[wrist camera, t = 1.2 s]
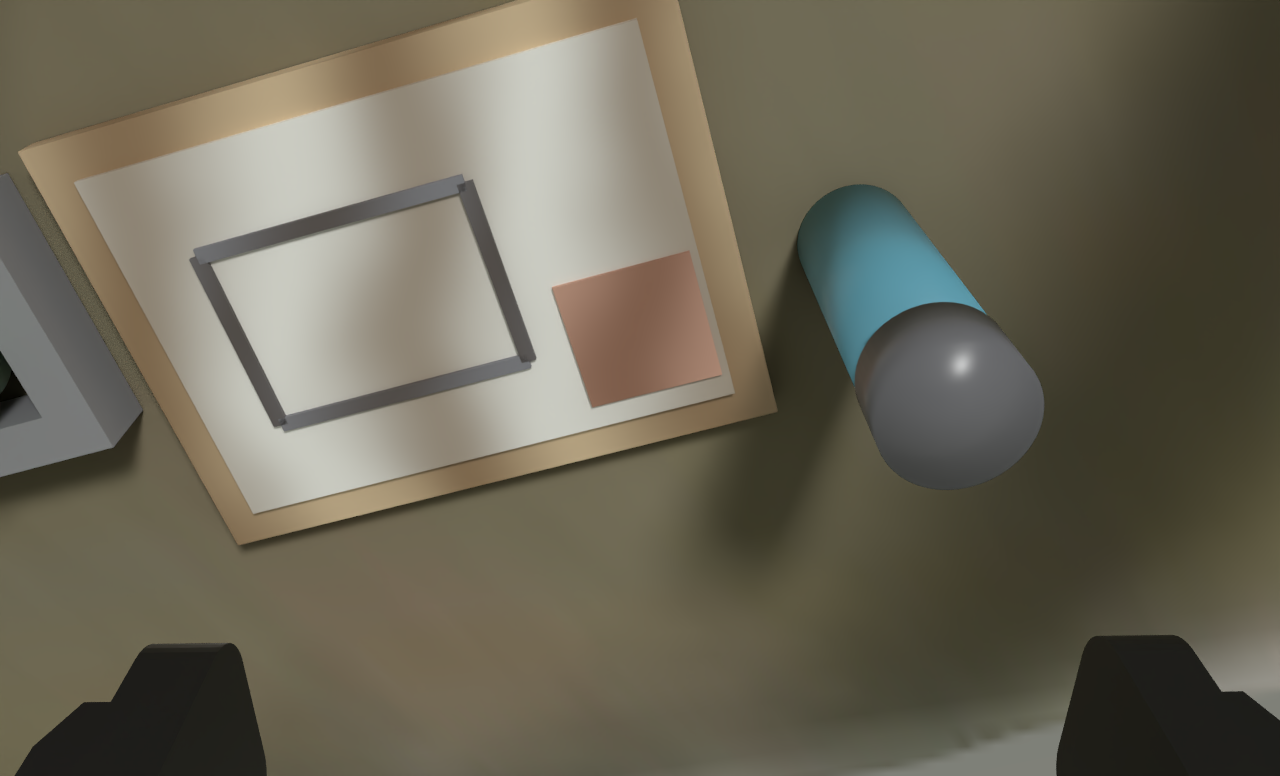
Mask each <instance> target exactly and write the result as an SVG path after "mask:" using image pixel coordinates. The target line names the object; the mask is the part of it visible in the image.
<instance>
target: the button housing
mask: <svg viewBox="0 0 1280 776" xmlns="http://www.w3.org/2000/svg"><path fill="white" fill-rule="evenodd" d="M0 351H1V353H2V354H3V356H4V357H5V359H6V361H7V362H8V364H9V365H10V367H11V369H12V370H13V372H14V373H15V375H16V377H17V378H18V380H19V381H20V383H21V385H22V386H23V388H24V389H25V391H26V393H27V394H28V395H25V396H22V397H18V398H14V399H10V400H7V401H3V402H0V477H2V476H6V475H10V474H13V473H17V472H21V471H25V470H29V469H33V468H36V467H40V466H44V465H48V464H52V463H56V462H59V461H63V460H67V459H71V458H75V457H79V456H82V455H86V454H90V453H94V452H98V451H102V450H105V449H109V448H113V447H114V446H115V445H116V444H117V442H118V441H119V440H120V438H121V437H122V436H123V435H124V433H125V432H126V431H127V430H128V428H129V427H130V426H131V425H132V423H133V422H134V421H135V419H136V418H137V417H138V416H139V414H140V413H141V412H142V411H143V409H142V407H141V406H140V404H139V402H138V400H137V399H136V397H135V395H134V393H133V392H132V390H131V388H130V386H129V385H128V383H127V381H126V379H125V378H124V376H123V374H122V372H121V371H120V369H119V367H118V365H117V364H116V362H115V360H114V358H113V357H112V355H111V353H110V351H109V350H108V348H107V346H106V344H105V343H104V341H103V339H102V337H101V336H100V334H99V332H98V330H97V329H96V327H95V325H94V323H93V322H92V320H91V318H90V316H89V314H88V313H87V311H86V309H85V307H84V306H83V304H82V302H81V300H80V299H79V297H78V295H77V293H76V292H75V290H74V288H73V286H72V285H71V283H70V281H69V279H68V278H67V276H66V274H65V272H64V271H63V269H62V267H61V265H60V264H59V262H58V260H57V258H56V257H55V255H54V253H53V251H52V250H51V248H50V246H49V244H48V243H47V241H46V239H45V237H44V236H43V234H42V232H41V230H40V229H39V227H38V225H37V223H36V222H35V220H34V218H33V216H32V215H31V213H30V211H29V209H28V208H27V206H26V204H25V202H24V201H23V199H22V197H21V195H20V194H19V192H18V190H17V188H16V187H15V185H14V183H13V181H12V180H11V178H10V176H9V174H8V173H6V174H3V175H0Z"/></svg>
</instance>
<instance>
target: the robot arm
mask: <svg viewBox="0 0 1280 776" xmlns="http://www.w3.org/2000/svg"><path fill="white" fill-rule="evenodd" d="M1056 771H1057V776H1280V720H1278V719H1277V718H1276V717H1275V716H1274V715H1272V714H1271V713H1269V712H1268V711H1267V710H1266V709H1264V708H1263V707H1262V706H1261V705H1260V704H1258V703H1257V702H1256V701H1255V700H1253V699H1252V698H1251V697H1249V696H1248V695H1247V694H1246V693H1244V692H1243V691H1238V692H1221V690H1220V689H1219V687H1218V686H1217V684H1216V683H1215V681H1214V680H1213V679H1212V677H1211V676H1210V674H1209V673H1208V671H1207V670H1206V668H1205V667H1204V665H1203V664H1202V662H1201V661H1200V660H1199V658H1198V657H1197V655H1196V654H1195V652H1194V651H1193V649H1192V648H1191V647H1190V646H1189V644H1188V643H1187V642H1186V641H1184V640H1183V639H1182V638H1180V637H1178V636H1174V635H1141V636H1095V637H1093V638H1091V639H1090V640H1089V641H1088V643H1087V644H1086V646H1085V648H1084V651H1083V654H1082V658H1081V662H1080V666H1079V670H1078V674H1077V678H1076V681H1075V685H1074V689H1073V693H1072V697H1071V701H1070V705H1069V708H1068V712H1067V716H1066V720H1065V724H1064V728H1063V732H1062V736H1061V740H1060V743H1059V748H1058V753H1057V763H1056ZM15 776H267V771H266V760H265V754H264V750H263V746H262V741H261V737H260V733H259V729H258V724H257V720H256V716H255V712H254V707H253V703H252V699H251V695H250V690H249V686H248V682H247V678H246V673H245V669H244V665H243V661H242V657H241V654H240V652H239V650H238V648H237V647H236V646H235V645H234V644H232V643H191V644H151V645H148V646H146V647H145V648H144V649H143V650H142V651H141V652H140V653H139V655H138V656H137V658H136V659H135V661H134V663H133V664H132V666H131V668H130V670H129V671H128V673H127V675H126V676H125V678H124V680H123V682H122V683H121V685H120V687H119V689H118V690H117V692H116V694H115V696H114V697H113V699H112V701H111V702H84V703H82V704H81V705H80V706H79V707H78V708H77V709H76V710H74V711H73V712H72V713H71V714H70V715H69V716H68V717H66V718H65V719H64V720H63V721H62V722H61V723H60V724H58V725H57V726H56V727H55V728H54V729H53V730H52V731H50V732H49V733H48V734H47V735H46V736H45V737H44V738H42V739H41V740H40V741H39V742H38V743H37V744H36V745H34V746H33V747H32V749H31V751H30V752H29V754H28V755H27V757H26V759H25V760H24V762H23V763H22V765H21V766H20V768H19V770H18V771H17V773H16V774H15Z"/></svg>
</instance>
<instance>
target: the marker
mask: <svg viewBox="0 0 1280 776" xmlns="http://www.w3.org/2000/svg"><path fill="white" fill-rule="evenodd" d="M797 249H798V255H799V259H800V262H801V264H802V267H803V269H804V271H805V274H806V276H807V278H808V281H809V283H810V285H811V287H812V290H813V292H814V294H815V297H816V299H817V301H818V304H819V306H820V308H821V311H822V313H823V315H824V318H825V320H826V322H827V324H828V327H829V329H830V331H831V334H832V336H833V338H834V341H835V343H836V345H837V348H838V350H839V352H840V354H841V357H842V359H843V361H844V364H845V366H846V368H847V371H848V373H849V375H850V378H851V380H852V382H853V385H854V387H855V392H856V396H857V400H858V402H859V405H860V407H861V409H862V412H863V414H864V416H865V419H866V421H867V423H868V426H869V428H870V431H871V433H872V435H873V438H874V440H875V442H876V445H877V447H878V449H879V451H880V453H881V456H882V457H883V459H884V460H885V462H886V463H887V465H888V466H889V467H890V468H891V469H892V470H893V471H894V472H895V473H897V474H898V475H899V476H900V477H902V478H904V479H905V480H907V481H909V482H911V483H914V484H916V485H919V486H922V487H926V488H931V489H939V490H953V489H962V488H967V487H971V486H975V485H978V484H981V483H984V482H986V481H989V480H991V479H993V478H995V477H997V476H998V475H1000V474H1002V473H1003V472H1005V471H1006V470H1008V469H1009V468H1010V467H1012V466H1013V465H1014V464H1015V463H1016V462H1017V461H1018V460H1019V459H1020V458H1021V457H1022V456H1023V455H1024V454H1025V453H1026V452H1027V450H1028V449H1029V448H1030V446H1031V445H1032V443H1033V442H1034V440H1035V438H1036V436H1037V434H1038V432H1039V429H1040V427H1041V423H1042V420H1043V414H1044V396H1043V390H1042V387H1041V384H1040V381H1039V379H1038V377H1037V376H1036V374H1035V372H1034V371H1033V369H1032V368H1031V367H1030V366H1029V364H1028V363H1027V362H1026V360H1025V359H1024V358H1023V357H1022V355H1021V354H1020V353H1019V351H1018V350H1017V349H1016V347H1015V346H1014V345H1013V344H1012V342H1011V341H1010V340H1009V338H1008V337H1007V336H1006V334H1005V333H1004V332H1003V331H1002V329H1001V328H1000V327H999V326H998V324H997V323H996V322H995V321H994V320H993V319H992V318H991V317H989V316H988V315H987V314H986V313H985V311H984V310H983V309H982V308H981V306H980V305H979V304H978V302H977V301H976V300H975V298H974V297H973V296H972V294H971V293H970V292H969V291H968V289H967V288H966V287H965V285H964V284H963V283H962V281H961V280H960V279H959V277H958V276H957V275H956V274H955V272H954V271H953V270H952V268H951V267H950V266H949V264H948V263H947V262H946V260H945V259H944V258H943V257H942V255H941V254H940V253H939V251H938V250H937V249H936V247H935V246H934V245H933V243H932V242H931V241H930V239H929V238H928V237H927V236H926V234H925V233H924V232H923V230H922V229H921V228H920V226H919V225H918V224H917V222H916V221H915V220H914V219H913V217H912V216H911V215H910V213H909V212H908V211H907V209H906V208H905V207H904V206H903V204H902V203H901V202H900V201H899V200H898V199H897V198H896V197H895V196H894V195H893V194H891V193H890V192H888V191H886V190H884V189H882V188H879V187H876V186H871V185H861V184H859V185H850V186H845V187H842V188H839V189H836V190H834V191H832V192H830V193H828V194H827V195H825V196H824V197H822V198H821V199H820V200H819V201H817V202H816V203H815V204H814V205H813V206H812V208H811V209H810V210H809V212H808V213H807V214H806V216H805V218H804V220H803V222H802V224H801V227H800V230H799V234H798V241H797Z"/></svg>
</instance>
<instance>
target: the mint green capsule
mask: <svg viewBox="0 0 1280 776" xmlns="http://www.w3.org/2000/svg"><path fill="white" fill-rule="evenodd" d="M11 370H12V369H11V367H10V365H9V364H8V362H7V361H6V359H5V357H4V356H3V354H2V353H1V351H0V393H1V392H2V391H3V390H4V388H5V387H6V385H7V383H8V381H9V379H10V375H11Z"/></svg>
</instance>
